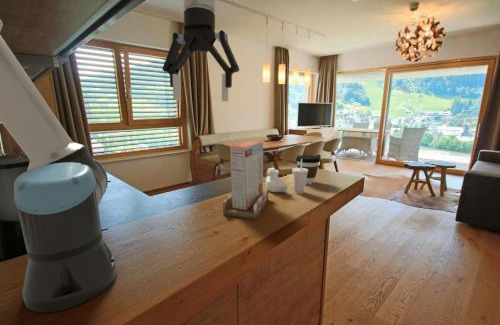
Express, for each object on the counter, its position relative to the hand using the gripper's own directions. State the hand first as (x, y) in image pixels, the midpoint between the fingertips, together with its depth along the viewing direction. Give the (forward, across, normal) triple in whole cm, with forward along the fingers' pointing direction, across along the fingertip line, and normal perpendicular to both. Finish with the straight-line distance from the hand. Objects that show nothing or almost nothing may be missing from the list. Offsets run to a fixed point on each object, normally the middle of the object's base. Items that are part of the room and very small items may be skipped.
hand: (200, 100), depth 66 cm
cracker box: (+34, +9, +18) cm, 39 cm away
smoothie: (+35, +25, +38) cm, 57 cm away
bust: (+35, +15, +37) cm, 53 cm away
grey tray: (+35, +9, +18) cm, 41 cm away
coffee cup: (+34, +28, +53) cm, 69 cm away
